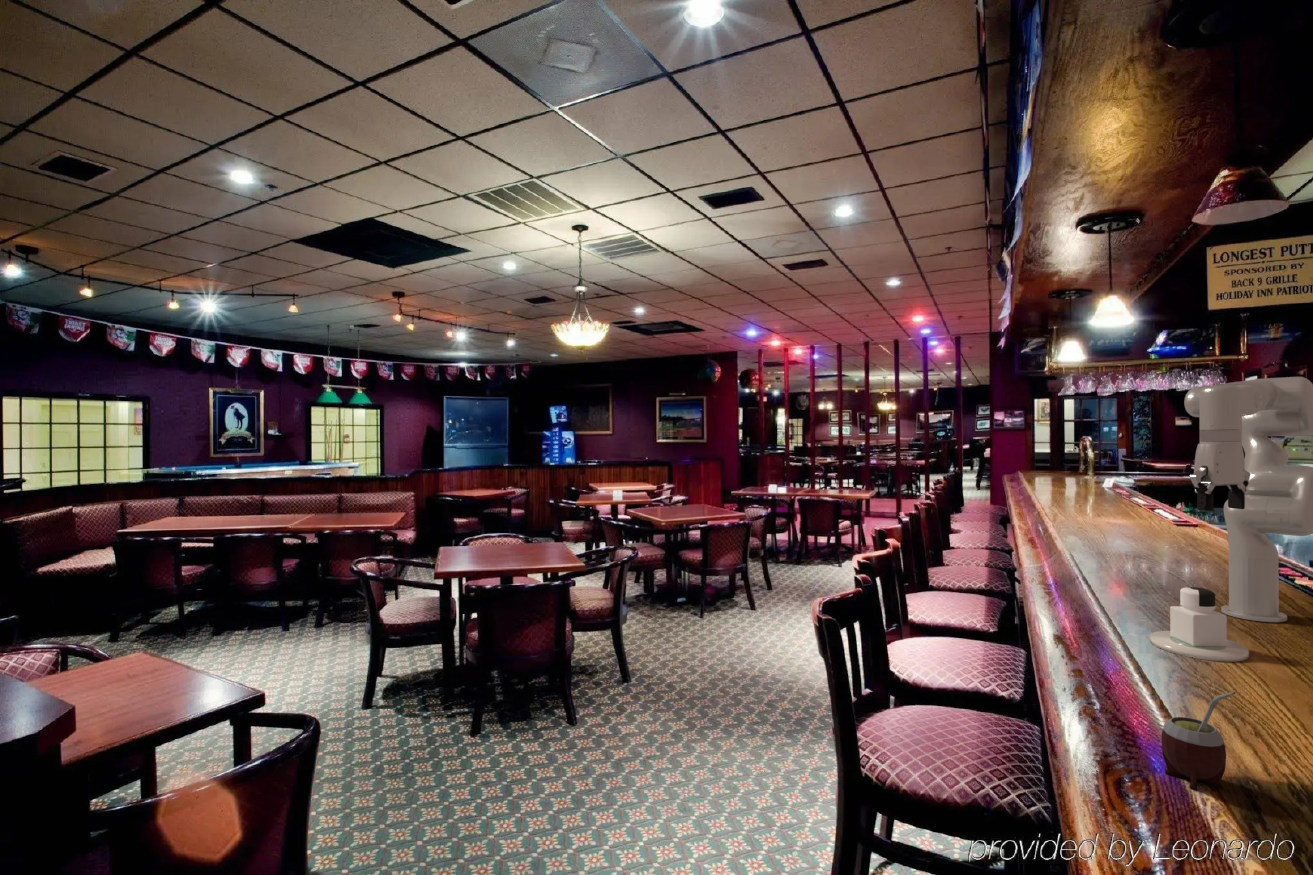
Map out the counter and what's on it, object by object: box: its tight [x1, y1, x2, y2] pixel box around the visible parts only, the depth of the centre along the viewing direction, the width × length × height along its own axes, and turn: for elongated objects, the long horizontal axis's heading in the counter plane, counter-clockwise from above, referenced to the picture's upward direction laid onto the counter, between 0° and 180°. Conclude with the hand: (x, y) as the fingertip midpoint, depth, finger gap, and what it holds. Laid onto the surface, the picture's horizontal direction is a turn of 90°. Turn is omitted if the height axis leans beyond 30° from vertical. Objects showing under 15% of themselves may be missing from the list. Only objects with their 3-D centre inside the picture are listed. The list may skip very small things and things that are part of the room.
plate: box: [1149, 630, 1250, 663], centre depth 143 cm, size 17×17×1 cm
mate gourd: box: [1161, 691, 1237, 792], centre depth 89 cm, size 8×8×15 cm
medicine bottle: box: [1169, 586, 1228, 647], centre depth 143 cm, size 7×7×12 cm
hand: (1220, 509), depth 150 cm, fingers open, 9 cm apart
